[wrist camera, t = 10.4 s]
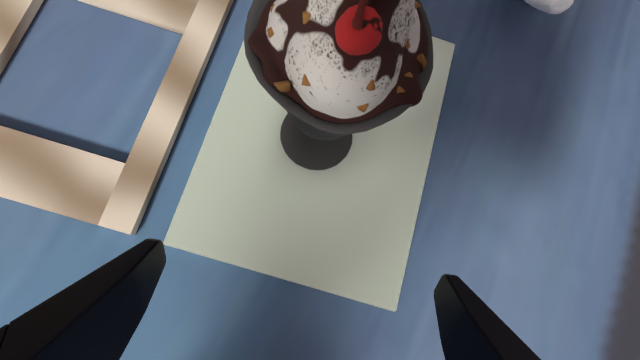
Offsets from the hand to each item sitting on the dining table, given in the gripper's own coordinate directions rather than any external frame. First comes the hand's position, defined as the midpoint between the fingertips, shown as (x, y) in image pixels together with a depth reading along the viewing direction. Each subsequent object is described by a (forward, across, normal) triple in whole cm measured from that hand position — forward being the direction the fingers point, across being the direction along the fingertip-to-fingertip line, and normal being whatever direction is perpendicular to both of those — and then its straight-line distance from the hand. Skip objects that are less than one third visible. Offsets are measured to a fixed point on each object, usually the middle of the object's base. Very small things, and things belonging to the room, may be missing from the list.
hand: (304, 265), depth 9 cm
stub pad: (+13, -1, +1) cm, 13 cm away
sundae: (+12, 0, +1) cm, 12 cm away
